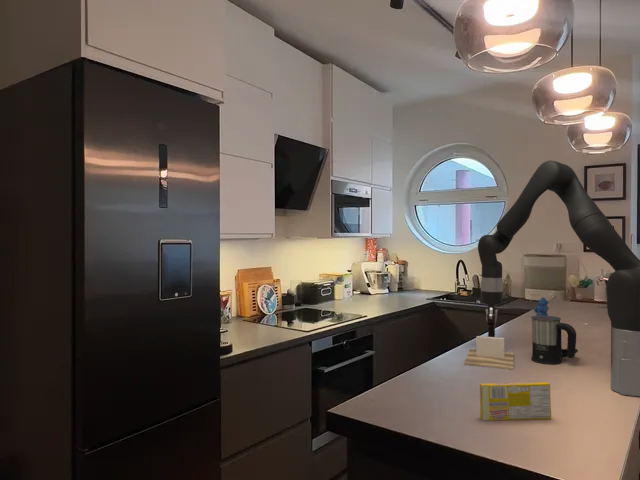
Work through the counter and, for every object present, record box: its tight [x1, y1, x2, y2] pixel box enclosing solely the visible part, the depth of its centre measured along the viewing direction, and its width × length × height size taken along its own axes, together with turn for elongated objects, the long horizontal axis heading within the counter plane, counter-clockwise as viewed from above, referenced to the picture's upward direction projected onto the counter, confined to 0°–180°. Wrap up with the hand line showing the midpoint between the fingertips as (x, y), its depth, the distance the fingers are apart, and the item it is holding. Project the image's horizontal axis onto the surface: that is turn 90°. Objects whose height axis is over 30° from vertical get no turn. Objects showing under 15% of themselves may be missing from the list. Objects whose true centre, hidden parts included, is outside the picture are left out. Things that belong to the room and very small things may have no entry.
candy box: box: [479, 381, 552, 421], centre depth 109 cm, size 16×2×8 cm, turn 92°
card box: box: [475, 335, 505, 358], centre depth 162 cm, size 3×9×6 cm, turn 68°
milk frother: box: [530, 315, 579, 365], centre depth 160 cm, size 14×16×15 cm
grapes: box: [533, 296, 549, 316], centre depth 228 cm, size 12×7×12 cm, turn 138°
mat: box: [464, 348, 515, 370], centre depth 161 cm, size 20×15×1 cm
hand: (491, 337), depth 170 cm, fingers closed
